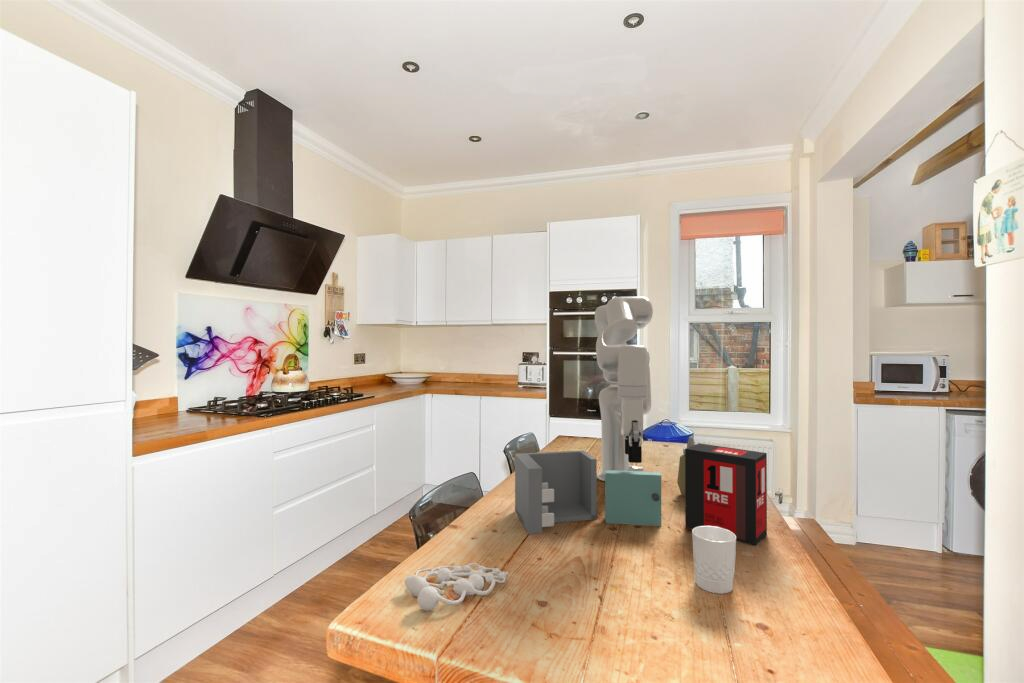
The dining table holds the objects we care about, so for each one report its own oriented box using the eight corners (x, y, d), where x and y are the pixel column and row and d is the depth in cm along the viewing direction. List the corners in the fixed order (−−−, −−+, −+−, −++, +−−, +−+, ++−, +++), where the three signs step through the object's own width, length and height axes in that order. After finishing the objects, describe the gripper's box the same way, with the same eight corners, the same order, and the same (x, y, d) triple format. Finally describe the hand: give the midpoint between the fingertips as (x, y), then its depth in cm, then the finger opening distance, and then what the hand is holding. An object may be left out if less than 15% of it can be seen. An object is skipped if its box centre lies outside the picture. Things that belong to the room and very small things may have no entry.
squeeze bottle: (676, 498, 143) (676, 438, 143) (677, 490, 150) (677, 433, 150) (705, 501, 140) (705, 440, 140) (705, 493, 147) (705, 435, 147)
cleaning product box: (685, 527, 121) (685, 448, 121) (699, 517, 127) (699, 443, 127) (755, 546, 109) (755, 459, 109) (766, 534, 116) (766, 453, 116)
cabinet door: (659, 521, 125) (659, 472, 125) (662, 527, 120) (662, 476, 120) (605, 518, 127) (605, 470, 127) (606, 524, 122) (605, 474, 123)
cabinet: (583, 506, 136) (583, 450, 136) (605, 527, 120) (605, 464, 120) (515, 511, 132) (515, 453, 132) (528, 534, 116) (528, 468, 116)
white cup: (733, 600, 87) (733, 545, 87) (688, 588, 91) (688, 536, 91) (738, 581, 93) (738, 530, 93) (696, 571, 97) (696, 522, 97)
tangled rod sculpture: (487, 567, 102) (486, 548, 102) (522, 592, 90) (521, 570, 90) (398, 588, 92) (398, 567, 93) (423, 620, 80) (423, 594, 80)
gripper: (615, 389, 133) (615, 450, 133) (620, 395, 116) (620, 465, 116) (643, 389, 132) (643, 451, 132) (652, 395, 115) (652, 466, 115)
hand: (632, 458), depth 124 cm, fingers open, 9 cm apart
